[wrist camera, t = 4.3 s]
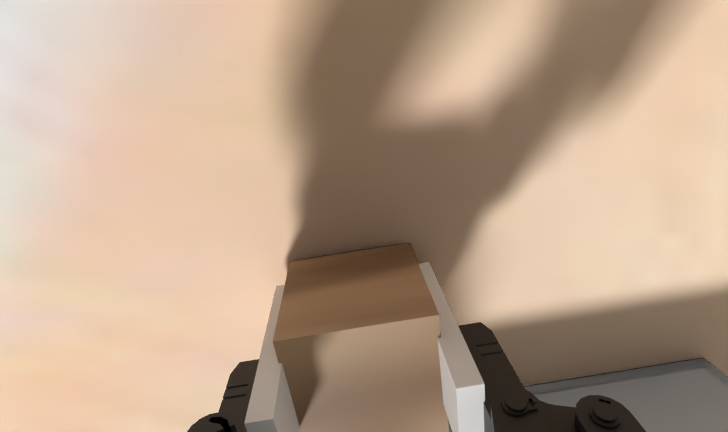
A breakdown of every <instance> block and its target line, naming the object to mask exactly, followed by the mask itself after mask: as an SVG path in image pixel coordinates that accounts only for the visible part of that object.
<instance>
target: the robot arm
mask: <svg viewBox="0 0 728 432" xmlns="http://www.w3.org/2000/svg"><path fill="white" fill-rule="evenodd" d="M419 267H420V269H421V271H422V274H423V276H424V279H425V281H426V284H427V286H428V289H429V291H430V293H431V296H432V298H433V301H434V303H435V306H436V308H437V311H438V313H439V318H440V330H441V337H440V338H438V348H439V359H440V370H441V381H442V393H443V404H444V407H445V410H446V413H447V417H448V420H449V423H450V426H451V429H452V432H646V431H645V429H644V428H643V427H642V426H641V424H640V423H639V422H638V421H637V420H636V418H635V417H634V416H633V415H632V413H631V412H630V411H629V410H628V409H627V408H626V407H624V406H623V405H622V404H621V403H619V402H617V401H615V400H613V399H612V398H609V397H605V396H601V395H588V396H586V397H583V398H581V399H580V400H579V401H578V402H577V403H576V407H568V406H560V405H553V404H548V403H545V402H543V401H540V400H538V398H537V397H535V396H534V395H533V394H532V393H531V392H529V391H527V390H526V389H525V388H524V387H523V385H522V383H521V382H520V380H519V378H518V376H517V375H516V373H515V371H514V369H513V367H512V366H511V364H510V362H509V360H508V359H507V357H506V355H505V353H503V350H502V348H501V346H500V345H499V344H498V341H497V339H496V337H495V336H494V334H493V332H492V331H491V330H490V329H489V328H487V327H486V326H485V325H483V324H482V323H481V322H479V323H473V324H467V325H461V326H458V324H457V322H456V320H455V318H454V316H453V313H452V311H451V309H450V307H449V305H448V302H447V300H446V298H445V296H444V294H443V291H442V289H441V287H440V285H439V283H438V280H437V278H436V276H435V274H434V272H433V269H432V267H431V265H430V263H429V262H425V263H419ZM284 287H285V285H282V286H276V290H275V294H274V298H273V303H272V307H271V311H270V315H269V320H268V324H267V328H266V333H265V337H264V341H263V345H262V350H261V354H260V358H259V359H258V360H251V361H245V362H240V363H239V364H238V365H237V367H236V368H235V369H234V370H233V372H232V373H231V374H230V377H229V380H228V384H227V387H226V388H227V389H226V390H225V393H224V396H223V400H222V403H221V406H220V409H219V412H218V413H214V414H209V415H207V416H205V417H203V418H201V419H199V420H198V421H197V422H196V423H195V424H193V425H192V426H191V427H190V429H189V430H188V431H187V432H299V430H300V427H299V423H298V419H297V416H296V412H295V408H294V405H293V401H292V398H291V394H290V390H289V387H288V383H287V379H286V376H285V372H284V369H283V365H282V363H278V359H277V355H276V352H275V348H274V345H273V337H274V333H275V328H276V324H277V319H278V314H279V310H280V305H281V300H282V296H283V291H284Z"/></svg>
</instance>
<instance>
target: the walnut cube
mask: <svg viewBox="0 0 728 432" xmlns="http://www.w3.org/2000/svg"><path fill="white" fill-rule="evenodd" d="M440 337H441V330H440V318H439V313H438V311H437V308H436V306H435V303H434V301H433V298H432V296H431V293H430V291H429V289H428V286H427V284H426V281H425V279H424V276H423V274H422V271H421V269H420V267H419V264H418V262H417V259H416V257H415V254H414V252H413V249H412V247H411V244H410V243H406V244H399V245H393V246H387V247H380V248H374V249H368V250H361V251H355V252H349V253H342V254H336V255H330V256H323V257H317V258H311V259H304V260H298V261H292V262H290V264H289V268H288V273H287V277H286V282H285V287H284V291H283V296H282V300H281V305H280V310H279V314H278V319H277V324H276V328H275V333H274V337H273V345H274V348H275V352H276V355H277V359H278V363H282V365H283V369H284V372H285V376H286V379H287V383H288V387H289V390H290V394H291V398H292V401H293V405H294V408H295V412H296V416H297V419H298V423H299V427H300V430H299V432H449V425H448V417H447V413H446V410H445V407H444V404H443V393H442V381H441V370H440V359H439V348H438V338H440Z"/></svg>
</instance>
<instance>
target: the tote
mask: <svg viewBox="0 0 728 432" xmlns="http://www.w3.org/2000/svg"><path fill="white" fill-rule="evenodd" d="M524 388H525V389H526V390H527V391H529V392H531V393H532V394H533V395H534V396H535V397H537V398H538V400H540V401H543V402H545V403H548V404H553V405H560V406H568V407H576V403H577V402H578V401H579V400H580V399H581V398H583V397H586V396H588V395H601V396H605V397H609V398H612V399H613V400H615V401H617V402H619V403H621V404H622V405H623V406H624V407H626V408H627V409H628V410H629V411H630V412H631V413H632V415H633V416H634V417H635V418H636V420H637V421H638V422H639V423H640V424H641V426H642V427H643V428H644V429H645V431H646V432H728V377H727V376H726V375H725V374H723V373H722V372H721V371H720V370H718V369H717V368H716V367H715V366H713V365H712V364H711V363H710V362H708V361H707V360H706V359H705V358H700V359H694V360H688V361H682V362H675V363H669V364H663V365H657V366H651V367H645V368H638V369H632V370H626V371H620V372H614V373H608V374H601V375H595V376H589V377H583V378H577V379H571V380H564V381H558V382H552V383H546V384H540V385H534V386H527V387H524ZM448 425H449V432H452V429H451V426H450V423H449V420H448Z"/></svg>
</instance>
